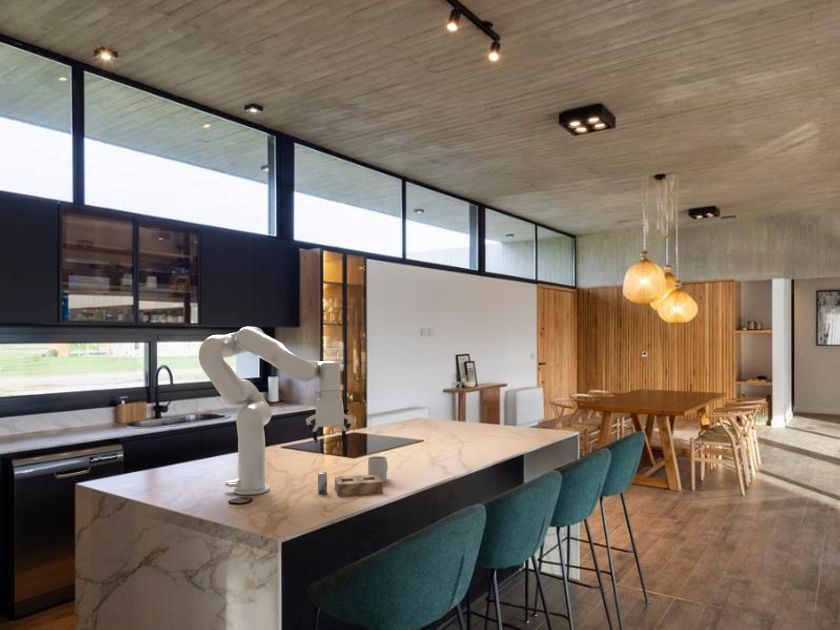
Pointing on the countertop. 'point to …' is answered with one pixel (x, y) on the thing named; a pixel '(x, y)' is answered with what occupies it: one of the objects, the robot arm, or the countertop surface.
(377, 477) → the bore block
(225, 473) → the countertop surface
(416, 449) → the countertop surface
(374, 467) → the cup
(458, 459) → the countertop surface
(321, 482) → the dowel
